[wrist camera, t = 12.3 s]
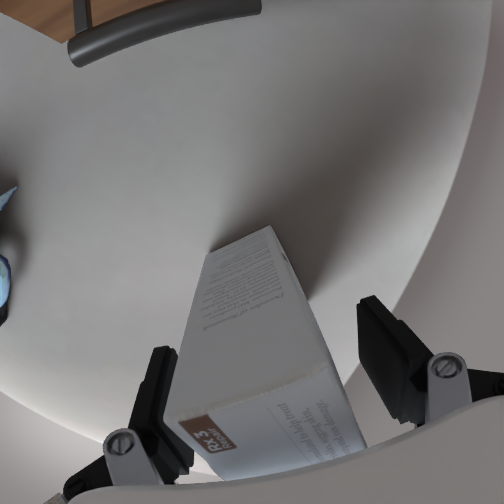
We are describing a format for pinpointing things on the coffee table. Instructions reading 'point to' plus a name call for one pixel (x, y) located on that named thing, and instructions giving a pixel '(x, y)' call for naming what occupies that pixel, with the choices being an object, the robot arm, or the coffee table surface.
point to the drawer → (118, 21)
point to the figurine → (4, 267)
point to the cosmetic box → (257, 369)
